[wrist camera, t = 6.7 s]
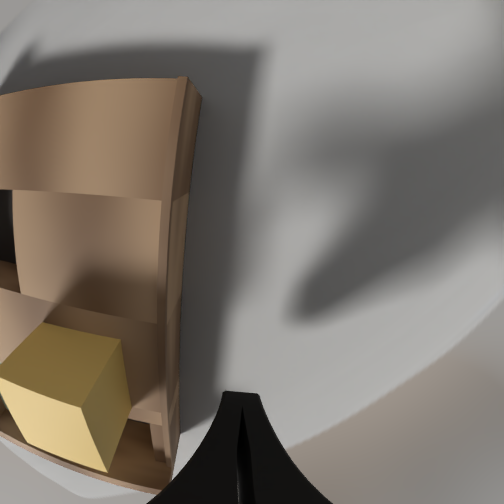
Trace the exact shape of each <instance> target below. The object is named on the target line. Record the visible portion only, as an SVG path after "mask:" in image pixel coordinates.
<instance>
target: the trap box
mask: <svg viewBox="0 0 504 504" xmlns="http://www.w3.org/2000/svg"><path fill="white" fill-rule="evenodd" d="M201 101H202V96H201V95H200V94H199V92H198V91H197V89H196V88H195V86H194V85H193V84H192V82H191V81H190V79H189V78H188V77H183V76H178V79H175V78H131V79H109V80H95V81H84V82H74V83H66V84H58V85H51V86H45V87H39V88H33V89H28V90H23V91H18V92H13V93H9V94H4V95H0V364H1V363H2V362H3V361H4V360H5V359H6V358H7V357H8V356H9V355H10V354H11V353H12V352H13V351H14V350H15V349H16V348H17V347H18V346H19V345H20V344H21V343H22V342H23V341H24V340H25V339H26V338H27V337H28V336H29V335H30V334H31V333H32V332H33V331H34V330H35V329H36V328H37V327H38V326H39V325H40V324H41V323H42V322H44V323H48V324H52V325H56V326H60V327H64V328H68V329H73V330H77V331H81V332H86V333H91V334H95V335H100V336H105V337H110V338H115V339H121V345H122V353H123V360H124V366H125V373H126V379H127V384H128V390H129V395H130V400H131V405H132V409H131V411H130V414H129V416H128V419H127V422H126V424H125V427H124V429H123V432H122V435H121V437H120V440H119V443H118V446H117V448H116V451H115V454H114V457H113V459H112V462H111V465H110V468H109V471H108V473H107V472H103V471H100V470H97V469H94V468H90V467H87V466H84V465H81V464H79V463H76V462H73V461H70V460H68V459H65V458H62V457H60V456H57V455H55V454H52V453H50V452H47V451H45V450H43V449H41V448H38V447H36V446H34V445H32V444H30V443H27V441H26V439H25V438H24V436H23V434H22V433H21V431H20V429H19V427H18V426H17V424H16V422H15V420H14V418H13V417H12V415H11V413H10V411H9V409H8V407H7V405H6V403H5V401H4V399H3V397H2V395H1V393H0V436H1V437H3V438H5V439H7V440H8V441H10V442H12V443H14V444H16V445H18V446H20V447H22V448H24V449H26V450H28V451H30V452H32V453H34V454H36V455H38V456H40V457H42V458H44V459H47V460H49V461H51V462H53V463H56V464H58V465H61V466H63V467H66V468H68V469H71V470H73V471H76V472H79V473H81V474H84V475H87V476H90V477H93V478H96V479H99V480H102V481H105V482H108V483H112V484H115V485H119V486H122V487H126V488H130V489H134V490H138V491H142V492H146V493H151V494H156V495H157V494H159V493H160V492H161V491H162V490H163V489H164V488H165V487H166V486H167V485H168V484H169V483H170V482H171V480H172V475H173V470H174V464H175V459H176V454H177V448H178V443H179V438H180V409H179V356H180V318H181V295H182V277H183V261H184V247H185V235H186V223H187V212H188V202H189V192H190V183H191V174H192V165H193V157H194V149H195V142H196V134H197V127H198V120H199V114H200V107H201Z"/></svg>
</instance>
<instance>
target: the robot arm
mask: <svg viewBox="0 0 504 504" xmlns="http://www.w3.org/2000/svg"><path fill="white" fill-rule="evenodd" d="M237 481H238V484H237ZM238 497H239V502H238ZM147 504H333V503H331V502H330V501H329V500H328V499H327V498H325V497H324V496H323V495H322V494H321V493H320V492H319V491H318V490H317V489H316V488H315V487H314V486H313V485H312V484H311V483H310V482H309V481H308V480H307V478H306V477H305V476H304V475H303V474H302V473H301V472H300V470H299V469H298V468H297V466H296V465H295V464H294V463H293V461H292V460H291V458H290V457H289V455H288V454H287V452H286V451H285V449H284V448H283V446H282V444H281V443H280V441H279V439H278V437H277V436H276V434H275V432H274V430H273V428H272V426H271V424H270V422H269V420H268V417H267V415H266V413H265V410H264V408H263V405H262V402H261V399H260V396H259V395H258V394H257V393H245V392H234V391H224V392H223V393H222V399H221V403H220V406H219V409H218V411H217V414H216V416H215V418H214V420H213V422H212V424H211V427H210V429H209V430H208V432H207V434H206V436H205V437H204V439H203V441H202V442H201V444H200V446H199V447H198V449H197V450H196V452H195V453H194V454H193V456H192V457H191V458H190V460H189V461H188V462H187V464H186V465H185V466H184V467H183V469H182V470H181V471H180V472H179V473H178V474H177V476H176V477H175V478H174V479H173V480H172V481H171V482H170V483H169V484H168V485H167V486H166V487H165V488H164V489H163V490H162V491H161V492H160V493H159V494H157V495H156V496H155V497H154V498H153V499H152V500H151V501H149V502H148V503H147Z"/></svg>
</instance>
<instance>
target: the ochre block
mask: <svg viewBox="0 0 504 504" xmlns="http://www.w3.org/2000/svg"><path fill="white" fill-rule="evenodd" d="M0 393H1V395H2V397H3V399H4V401H5V403H6V405H7V407H8V409H9V411H10V413H11V415H12V417H13V418H14V420H15V422H16V424H17V426H18V427H19V429H20V431H21V433H22V434H23V436H24V438H25V439H26V441H27V443H30V444H32V445H34V446H36V447H38V448H41V449H43V450H45V451H47V452H50V453H52V454H55V455H57V456H60V457H62V458H65V459H68V460H70V461H73V462H76V463H79V464H81V465H84V466H87V467H90V468H94V469H97V470H100V471H103V472H107V473H108V471H109V468H110V465H111V462H112V459H113V457H114V454H115V451H116V448H117V446H118V443H119V440H120V437H121V435H122V432H123V429H124V427H125V424H126V422H127V419H128V416H129V414H130V411H131V409H132V405H131V400H130V395H129V390H128V384H127V379H126V373H125V366H124V360H123V353H122V345H121V339H115V338H110V337H105V336H100V335H95V334H91V333H86V332H81V331H77V330H73V329H68V328H64V327H60V326H56V325H52V324H48V323H44V322H42V323H41V324H40V325H39V326H38V327H37V328H36V329H35V330H34V331H33V332H32V333H31V334H30V335H29V336H28V337H27V338H26V339H25V340H24V341H23V342H22V343H21V344H20V345H19V346H18V347H17V348H16V349H15V350H14V351H13V352H12V353H11V354H10V355H9V356H8V357H7V358H6V359H5V360H4V361H3V362H2V363H1V364H0Z"/></svg>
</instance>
